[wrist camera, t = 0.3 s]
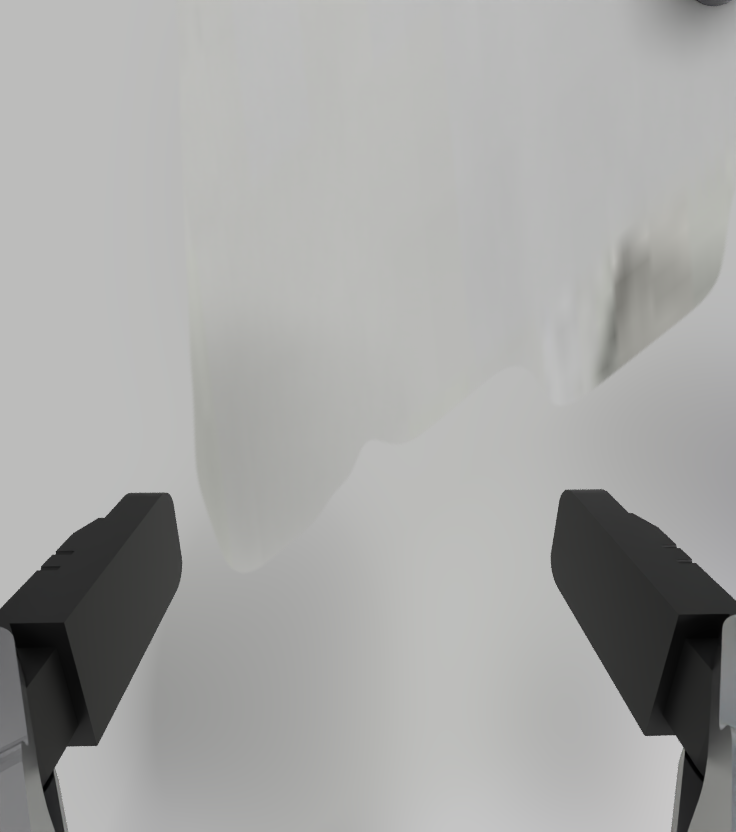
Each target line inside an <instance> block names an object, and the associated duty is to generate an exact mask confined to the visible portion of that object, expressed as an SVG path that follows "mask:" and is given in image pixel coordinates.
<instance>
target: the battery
mask: <svg viewBox="0 0 736 832" xmlns="http://www.w3.org/2000/svg"><path fill="white" fill-rule="evenodd" d="M697 1H698V2H700V3H702V4H705V5H708V6H718V5H722V4H725V3H727V2H729V1H731V0H697Z"/></svg>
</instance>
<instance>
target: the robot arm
mask: <svg viewBox="0 0 736 832" xmlns="http://www.w3.org/2000/svg"><path fill="white" fill-rule="evenodd" d="M551 568H552V573H553V577H554V580H555V583H556V585H557V587H558V589H559V590H560V592H561V594H562V595H563V597H564V599H565V600H566V602H567V604H568V606H569V607H570V609H571V611H572V612H573V614H574V616H575V617H576V619H577V621H578V623H579V624H580V626H581V628H582V630H583V631H584V633H585V635H586V636H587V638H588V640H589V641H590V643H591V645H592V647H593V648H594V650H595V652H596V653H597V655H598V657H599V658H600V660H601V662H602V664H603V665H604V667H605V669H606V670H607V672H608V674H609V676H610V677H611V679H612V681H613V682H614V684H615V686H616V688H617V689H618V691H619V693H620V694H621V696H622V698H623V699H624V701H625V703H626V705H627V706H628V708H629V710H630V711H631V713H632V715H633V717H634V718H635V720H636V722H637V723H638V725H639V727H640V728H641V730H642V732H643V734H644V735H645V736H657V735H658V736H660V735H676V736H677V738H678V739H679V741H680V743H681V744H682V745H683V751H682V753H681V757H680V760H679V764H678V774H677V782H676V791H675V801H674V809H673V819H672V827H671V832H736V600H734V599H733V598H732V597H731V596H730V595H729V594H728V593H727V592H726V591H725V590H724V589H723V588H722V587H721V586H720V585H719V584H717V583H716V582H715V581H714V580H713V579H712V578H711V577H710V576H709V575H708V574H707V573H706V572H704V570H703V569H702V568H701V567H699V566H698V565H697V564H696V563H692V559H691V558H690V557H689V556H688V555H687V554H686V553H685V552H683V551H682V550H681V549H680V548H677V547H676V544H675V543H674V542H673V541H672V540H671V539H670V538H668V536H667V535H666V534H664V533H663V532H662V531H661V530H660V529H659V528H658V527H656V526H654V525H653V524H651V523H649V522H647V521H646V520H644V519H642V518H640V517H638V516H637V515H635V514H633V513H628V512H627V511H626V510H625V509H624V508H623V507H622V506H621V505H620V504H619V503H618V502H617V501H616V500H615V499H614V498H613V497H612V496H611V495H610V494H609V493H608V492H607V491H605V490H602V489H600V490H599V489H596V490H595V489H594V490H565V491H564V492H563V493H562V495H561V498H560V501H559V507H558V513H557V520H556V526H555V533H554V538H553V545H552V551H551ZM181 572H182V556H181V550H180V543H179V537H178V530H177V524H176V518H175V511H174V504H173V501H172V498H171V496H170V494H168V493H128V494H127V495H125V496H124V497H123V498H122V499H121V501H120V502H119V503H118V504H117V505H116V506H115V507H114V509H112V511H111V512H110V513H109V514H108V515H107V516H106V517H105V518H98V519H96V520H95V521H93V522H92V523H90V524H88V525H86V526H85V527H83V528H82V529H80V530H78V531H76V532H75V533H73V534H72V535H71V536H70V537H69V538H68V539H67V540H66V541H65V542H64V543H63V545H62V546H61V547H60V548H59V549H58V550H57V551H56V555H52V556H51V557H50V558H49V559H48V560H47V561H46V562H45V563H44V564H43V565H42V566H41V570H40V571H36V572H35V573H34V574H33V576H32V577H31V578H30V579H29V580H28V581H27V582H26V583H25V584H24V585H23V586H22V587H21V588H20V589H19V590H18V591H17V592H16V593H15V594H14V595H13V596H12V597H11V598H10V599H9V600H8V601H7V602H6V603H5V604H4V605H3V607H2V608H1V609H0V832H68V828H67V823H66V818H65V812H64V807H63V802H62V796H61V791H60V786H59V780H58V776H57V773H56V770H55V766H56V764H57V763H58V761H59V759H60V757H61V756H62V754H63V752H64V750H65V749H66V747H67V746H97V745H98V743H99V741H100V739H101V737H102V735H103V733H104V731H105V729H106V728H107V725H108V723H109V722H110V720H111V718H112V716H113V714H114V712H115V710H116V708H117V706H118V704H119V702H120V700H121V698H122V696H123V694H124V692H125V690H126V688H127V687H128V685H129V683H130V681H131V679H132V677H133V675H134V673H135V671H136V669H137V667H138V665H139V663H140V661H141V659H142V657H143V655H144V653H145V651H146V649H147V647H148V645H149V644H150V641H151V640H152V638H153V636H154V634H155V632H156V630H157V628H158V626H159V624H160V622H161V620H162V618H163V616H164V614H165V612H166V610H167V608H168V606H169V604H170V602H171V600H172V599H173V597H174V595H175V593H176V591H177V588H178V585H179V582H180V578H181Z"/></svg>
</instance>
